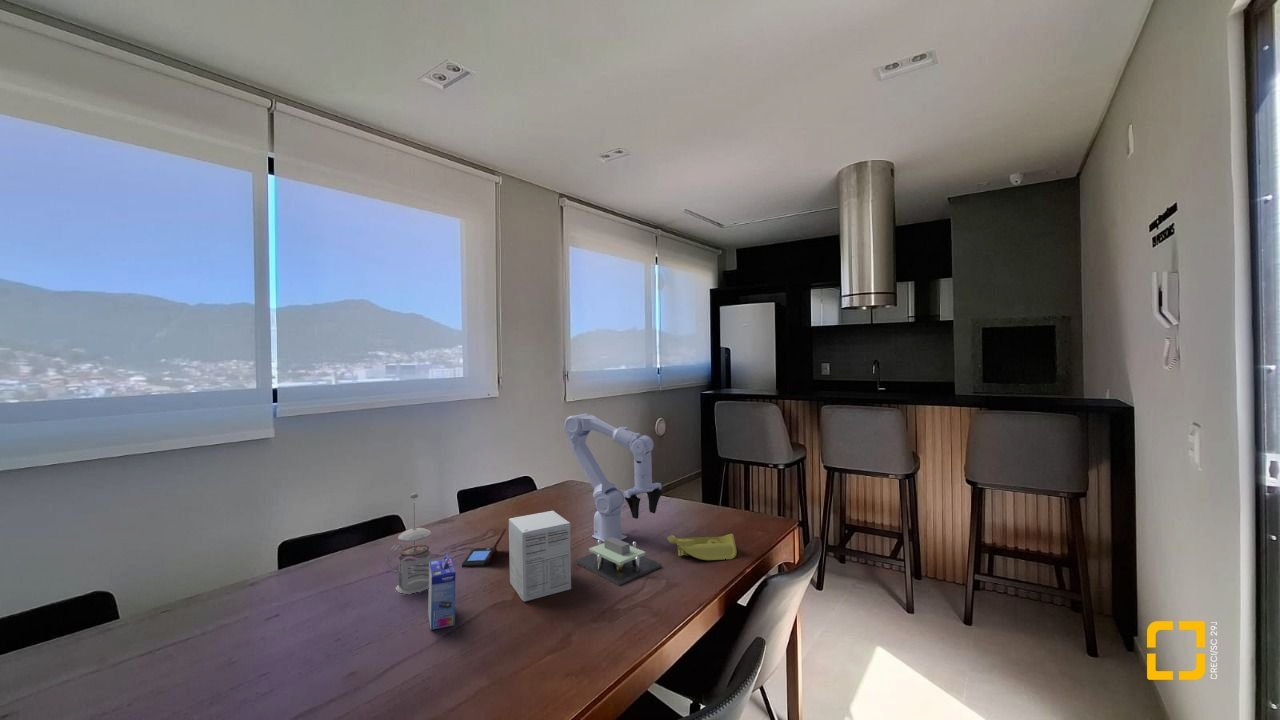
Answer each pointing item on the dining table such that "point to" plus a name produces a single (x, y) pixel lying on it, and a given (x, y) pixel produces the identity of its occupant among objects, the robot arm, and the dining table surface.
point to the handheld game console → (481, 556)
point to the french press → (413, 560)
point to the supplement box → (539, 555)
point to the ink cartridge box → (441, 593)
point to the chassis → (618, 567)
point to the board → (616, 556)
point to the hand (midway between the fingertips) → (644, 515)
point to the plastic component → (706, 547)
